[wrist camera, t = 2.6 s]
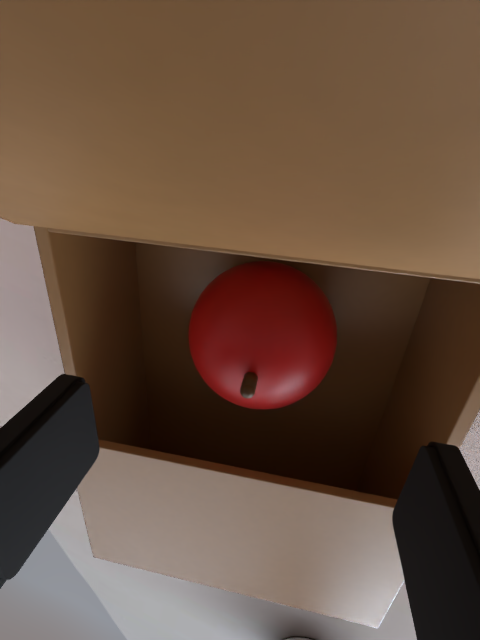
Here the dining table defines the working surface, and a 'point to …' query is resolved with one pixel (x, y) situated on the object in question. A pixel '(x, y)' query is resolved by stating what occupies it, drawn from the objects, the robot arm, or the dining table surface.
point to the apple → (262, 335)
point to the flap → (249, 125)
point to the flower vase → (298, 639)
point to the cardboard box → (258, 422)
